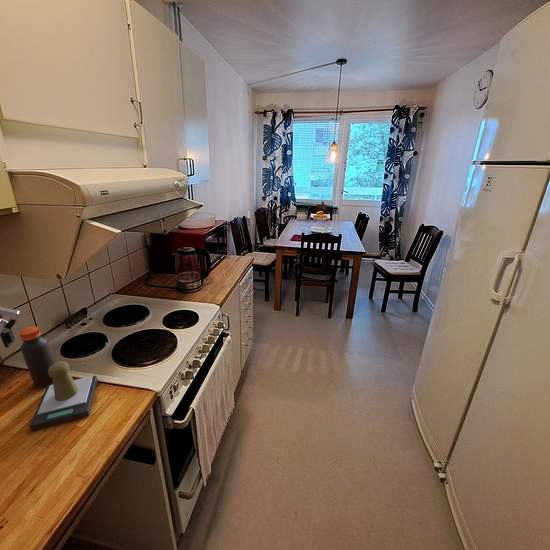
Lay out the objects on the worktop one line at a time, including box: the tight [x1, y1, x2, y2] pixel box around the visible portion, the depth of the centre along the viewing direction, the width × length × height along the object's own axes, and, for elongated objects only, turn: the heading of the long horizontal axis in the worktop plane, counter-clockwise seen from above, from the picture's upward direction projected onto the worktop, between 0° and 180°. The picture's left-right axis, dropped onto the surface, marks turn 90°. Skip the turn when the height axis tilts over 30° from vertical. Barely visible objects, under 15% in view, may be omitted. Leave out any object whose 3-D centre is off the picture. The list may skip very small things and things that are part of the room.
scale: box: [28, 375, 99, 432], centre depth 88 cm, size 14×16×2 cm
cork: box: [48, 361, 78, 401], centre depth 87 cm, size 6×6×11 cm
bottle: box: [18, 326, 56, 388], centre depth 94 cm, size 7×7×20 cm
